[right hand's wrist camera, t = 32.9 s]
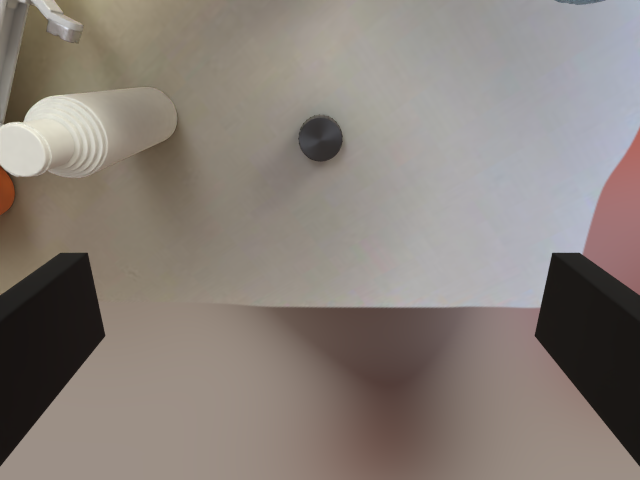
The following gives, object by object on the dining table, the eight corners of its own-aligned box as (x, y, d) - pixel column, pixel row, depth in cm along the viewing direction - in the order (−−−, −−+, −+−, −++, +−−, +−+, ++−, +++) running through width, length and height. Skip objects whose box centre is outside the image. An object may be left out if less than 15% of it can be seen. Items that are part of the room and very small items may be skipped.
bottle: (131, 76, 41) (-24, 82, 22) (184, 101, 42) (78, 128, 23) (115, 128, 42) (-40, 173, 24) (167, 152, 43) (55, 213, 25)
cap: (290, 133, 43) (289, 137, 40) (323, 105, 42) (323, 107, 39) (318, 165, 44) (318, 170, 42) (350, 138, 43) (351, 142, 41)
